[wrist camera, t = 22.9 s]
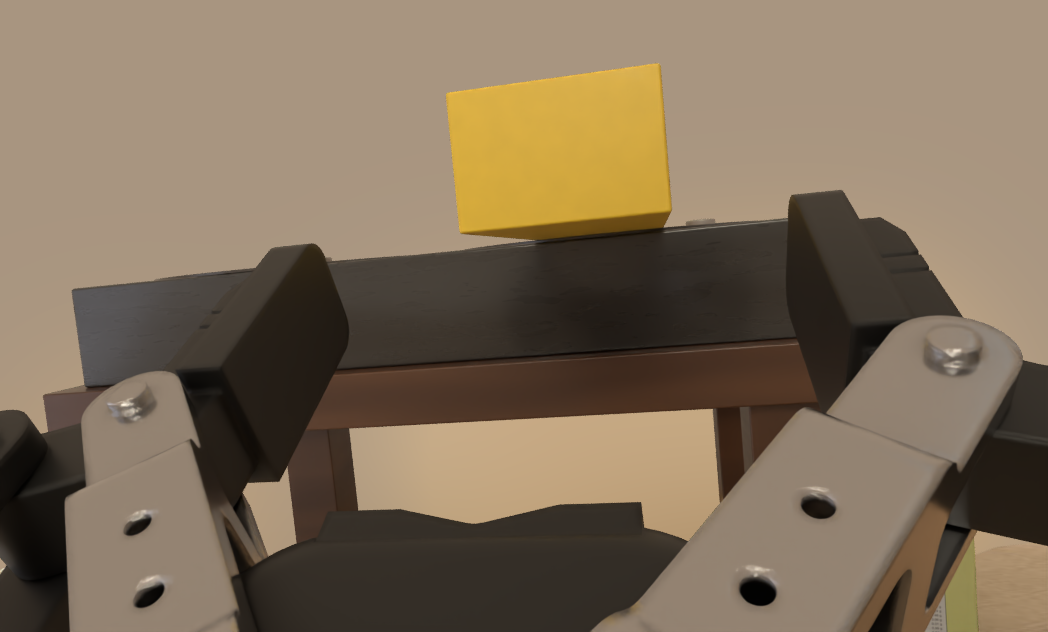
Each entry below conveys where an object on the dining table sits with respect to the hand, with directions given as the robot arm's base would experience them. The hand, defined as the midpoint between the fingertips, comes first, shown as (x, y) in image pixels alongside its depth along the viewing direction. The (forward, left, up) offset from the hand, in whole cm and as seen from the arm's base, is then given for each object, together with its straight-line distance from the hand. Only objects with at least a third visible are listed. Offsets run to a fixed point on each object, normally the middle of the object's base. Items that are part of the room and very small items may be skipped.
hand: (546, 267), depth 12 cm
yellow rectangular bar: (-10, -13, +1) cm, 16 cm away
